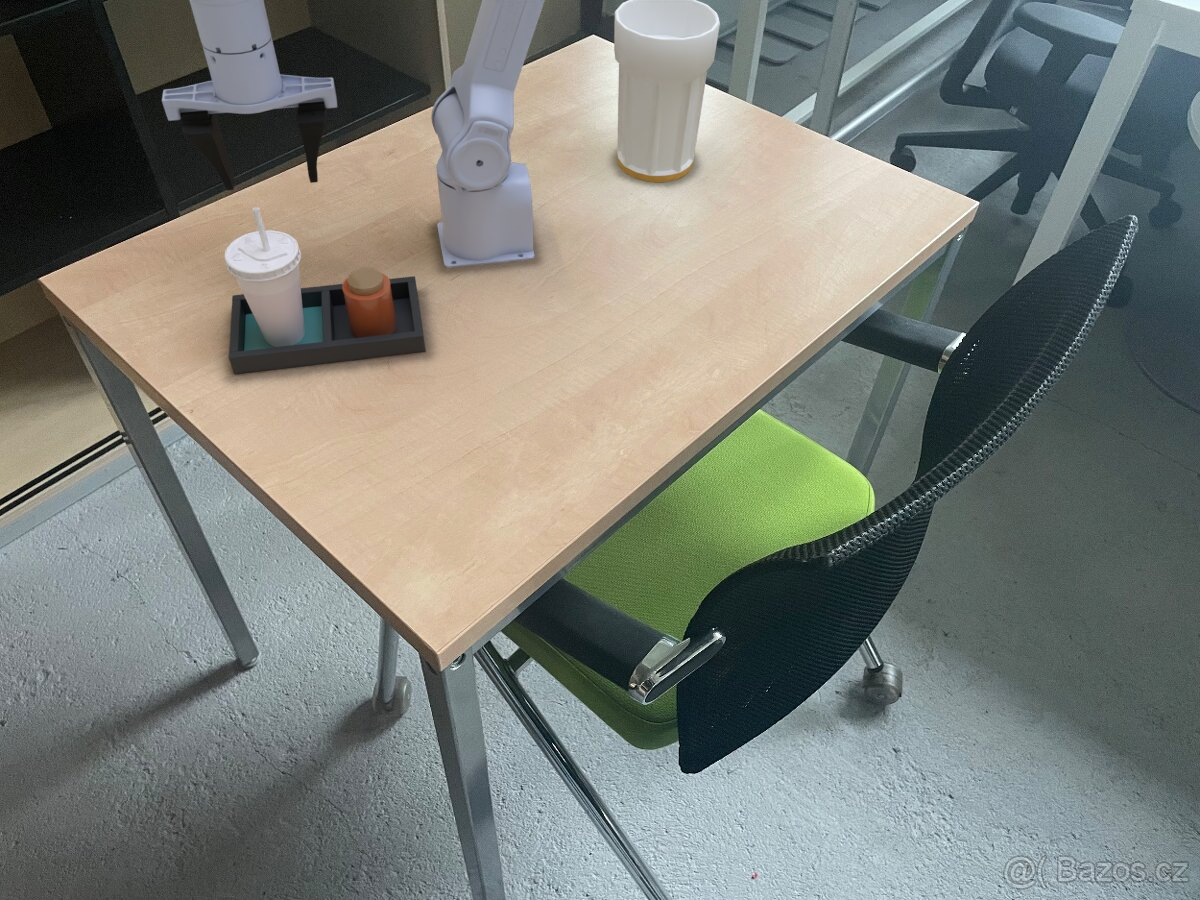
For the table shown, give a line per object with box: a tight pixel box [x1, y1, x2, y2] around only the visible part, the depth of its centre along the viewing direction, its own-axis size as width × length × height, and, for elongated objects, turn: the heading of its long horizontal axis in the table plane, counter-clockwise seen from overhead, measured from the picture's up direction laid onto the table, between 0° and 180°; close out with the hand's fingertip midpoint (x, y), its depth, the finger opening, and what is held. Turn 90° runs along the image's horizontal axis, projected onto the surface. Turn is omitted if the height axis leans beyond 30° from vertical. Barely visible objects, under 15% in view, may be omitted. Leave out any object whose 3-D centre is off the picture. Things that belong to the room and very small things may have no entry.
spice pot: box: [342, 267, 397, 338], centre depth 90 cm, size 4×4×6 cm
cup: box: [613, 0, 721, 183], centre depth 108 cm, size 11×11×17 cm
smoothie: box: [224, 206, 305, 347], centre depth 85 cm, size 6×6×14 cm
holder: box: [228, 275, 427, 375], centre depth 91 cm, size 9×17×2 cm, turn 103°
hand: (272, 180), depth 91 cm, fingers open, 7 cm apart
